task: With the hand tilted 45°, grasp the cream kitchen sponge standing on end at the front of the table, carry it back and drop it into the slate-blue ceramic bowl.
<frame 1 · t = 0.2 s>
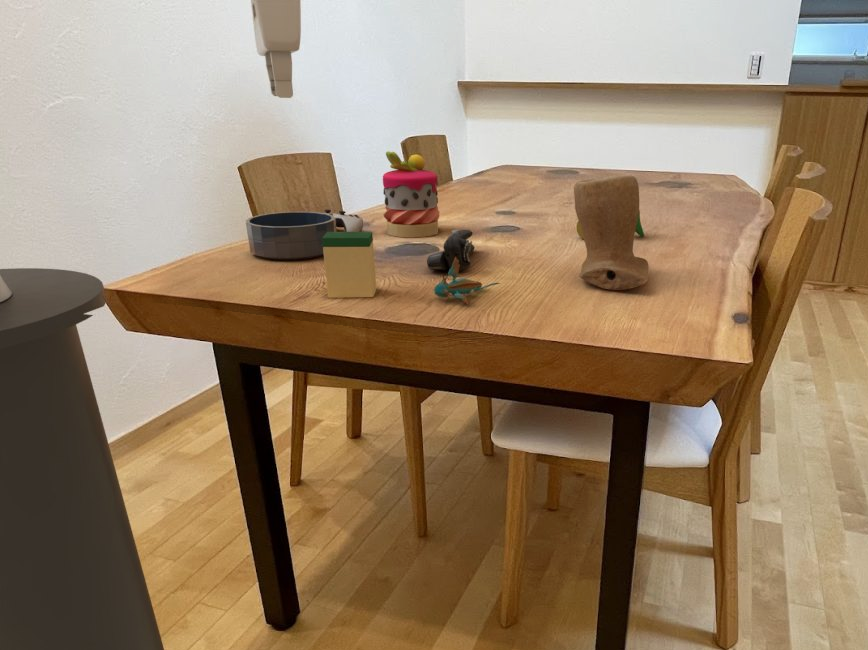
hand: (281, 97, 79), 25 cm above the table, tool pointing down, fingers open, 8 cm apart
gaming controller: (337, 234, 126), on the table
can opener: (458, 263, 107), on the table
cake: (412, 233, 129), on the table
bowl: (295, 251, 112), on the table
dragon figurine: (466, 298, 89), on the table
brown clay sculpture: (607, 280, 99), on the table
sponge: (352, 293, 90), on the table
bird figurine: (612, 236, 128), on the table
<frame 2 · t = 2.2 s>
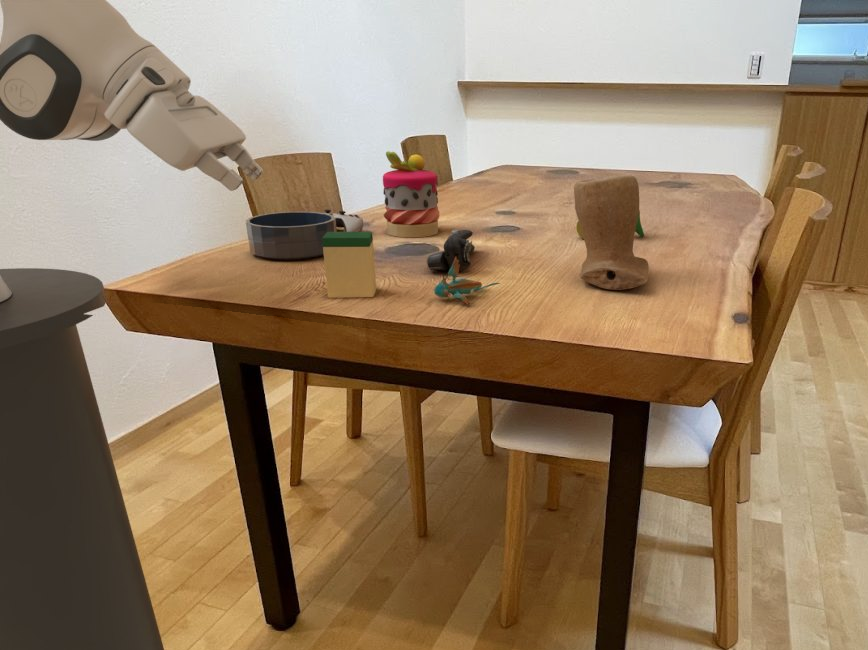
hand: (249, 181, 83), 15 cm above the table, tool tilted 45°, fingers open, 8 cm apart
nothing on the table moved.
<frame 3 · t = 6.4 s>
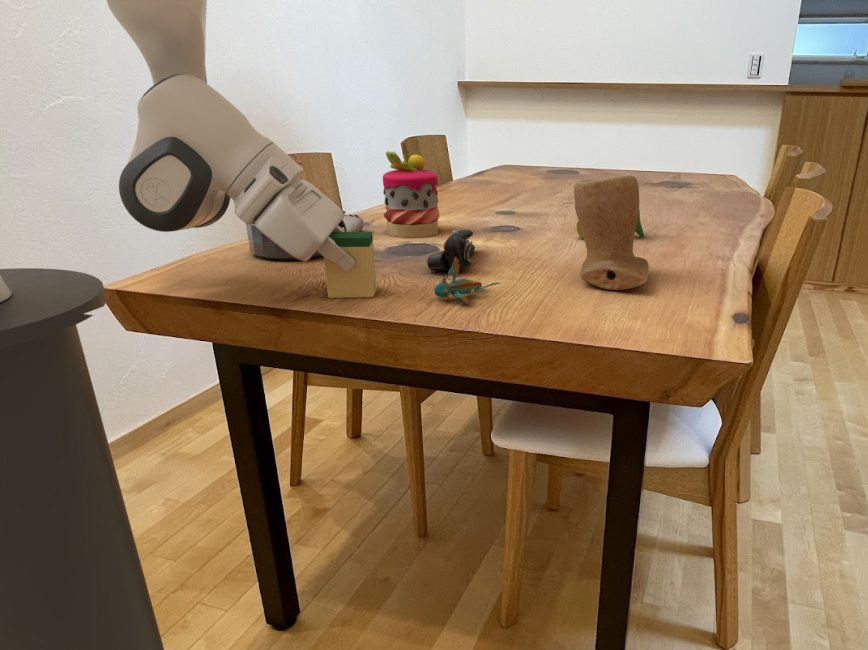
hand: (354, 261, 89), 4 cm above the table, tool tilted 45°, fingers closed on sponge, 4 cm apart
sponge: (352, 293, 90), on the table, touching gripper
everything else where it was.
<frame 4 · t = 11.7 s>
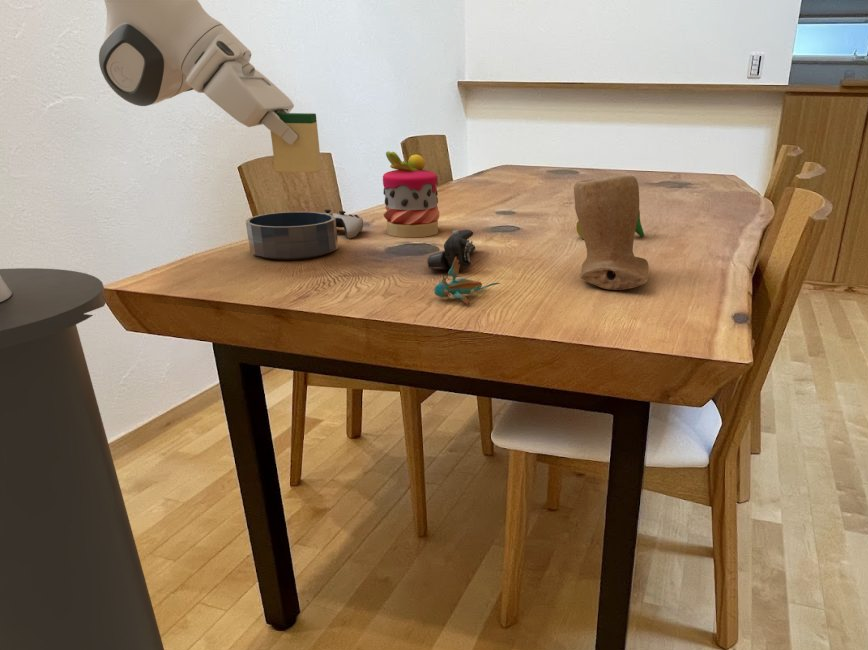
hand: (299, 139, 98), 18 cm above the table, tool tilted 45°, fingers closed on sponge, 4 cm apart
sponge: (299, 170, 100), point 14 cm above the table, touching gripper
everything else where it was.
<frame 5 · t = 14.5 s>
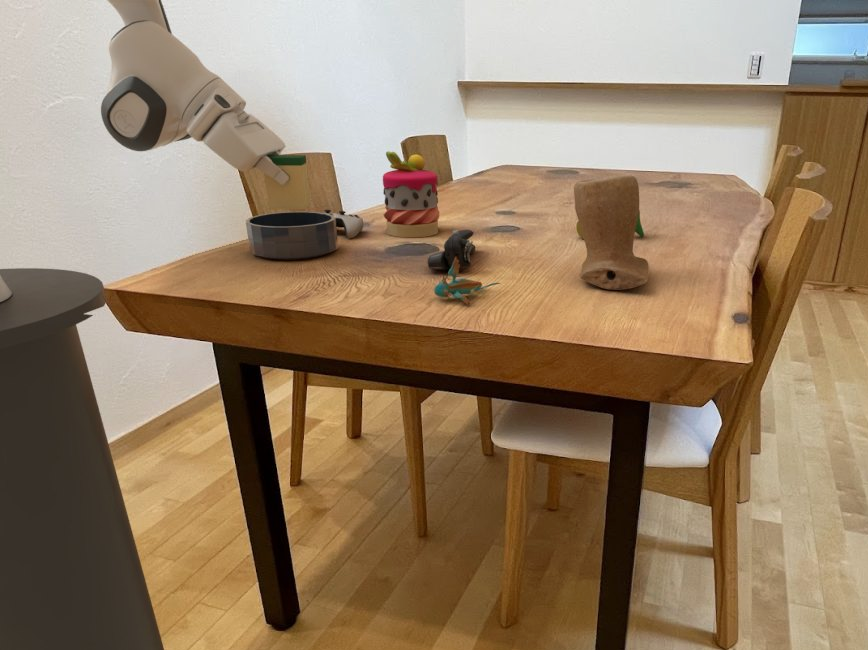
hand: (290, 179, 108), 12 cm above the table, tool tilted 45°, fingers closed on sponge, 4 cm apart
sponge: (290, 207, 109), point 7 cm above the table, touching gripper
everything else where it was.
when the fingers open (5 cm above the table, at t = 16.8 s): sponge stays where it is, resting on bowl.
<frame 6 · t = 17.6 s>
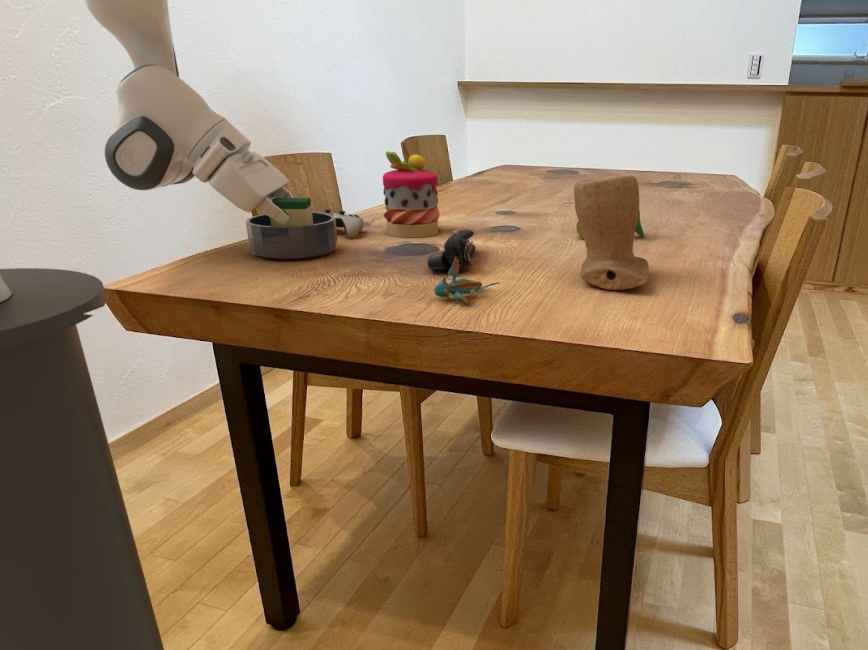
hand: (293, 216, 110), 6 cm above the table, tool tilted 45°, fingers open, 8 cm apart
sponge: (295, 248, 112), point 1 cm above the table, touching bowl
everything else where it was.
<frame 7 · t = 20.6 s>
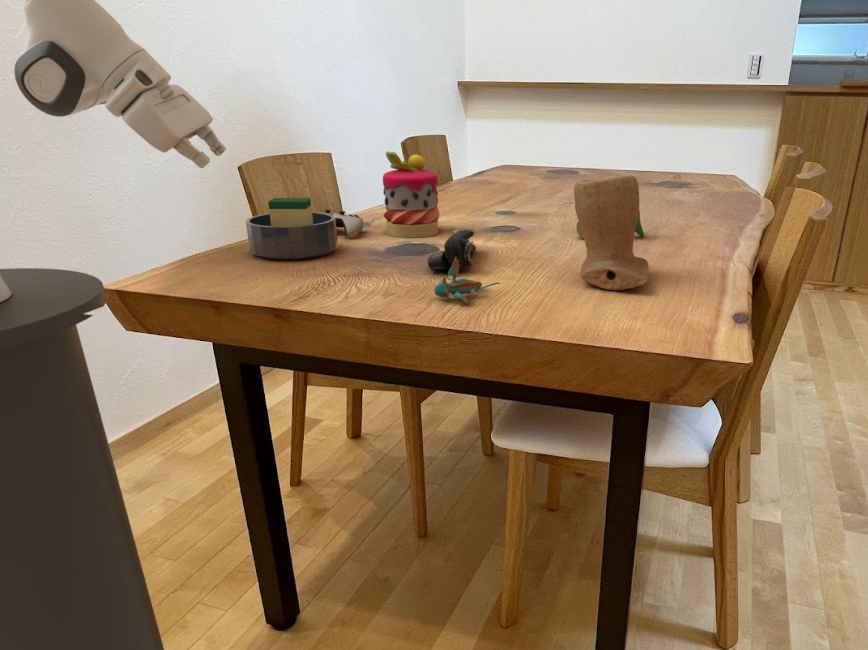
hand: (214, 158, 107), 15 cm above the table, tool tilted 40°, fingers open, 8 cm apart
nothing on the table moved.
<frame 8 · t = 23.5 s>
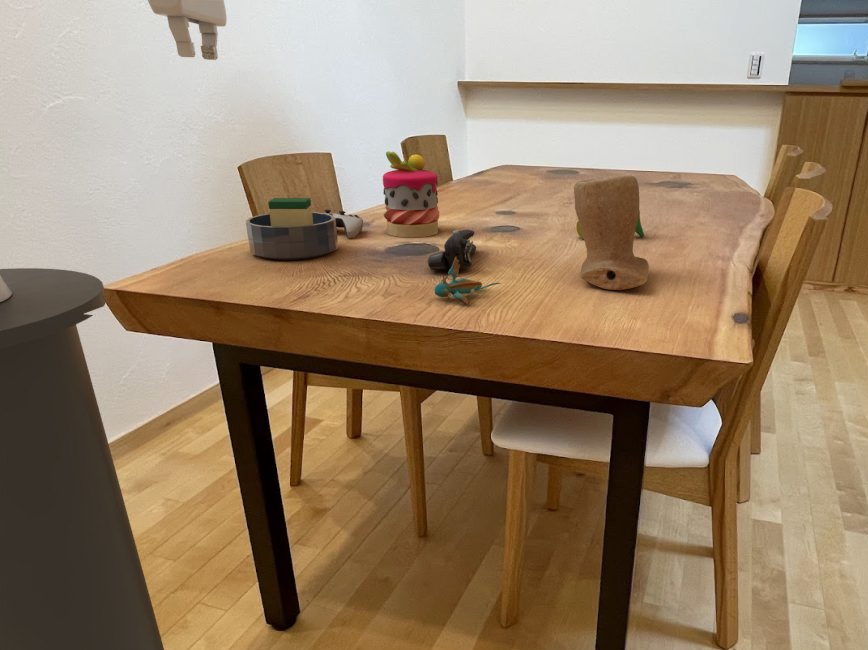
hand: (199, 58, 93), 29 cm above the table, tool pointing down, fingers open, 8 cm apart
nothing on the table moved.
at the end: sponge inside the target area in the bowl (0.1 cm from its centre), point 0.6 cm above the bowl's base; the gripper is holding nothing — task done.
